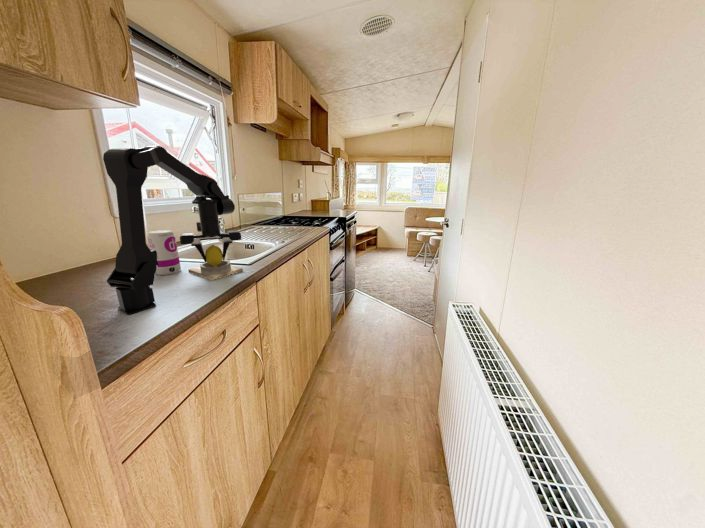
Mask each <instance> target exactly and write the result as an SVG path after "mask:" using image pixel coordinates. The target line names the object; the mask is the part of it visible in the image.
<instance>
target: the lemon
mask: <svg viewBox="0 0 705 528" xmlns="http://www.w3.org/2000/svg"><path fill="white" fill-rule="evenodd" d="M204 253H205V257H206V260H207V262H208V263H209V264H211V265H213V266H215V267H216V266H217V265H218V264H220V263H221V262H222V260H223V250H222V249H221V247H219V246H217V245H214V244H212V245H210V246H208V247H207V248H206V250H205V252H204Z"/></svg>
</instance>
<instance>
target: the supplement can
mask: <svg viewBox="0 0 705 528" xmlns="http://www.w3.org/2000/svg"><path fill="white" fill-rule="evenodd" d="M146 241H147V243H148V244H147V246H148V248H149V249H150V250H156V252H157V262H158V264H159V265H158V266H157V265H156V266H157V268H156V273H155V274H156V275H158V276H168V275H173V274H177V273H178V272H179V271H181V269H182V268H181V262H180V256H179V250H178V244H177V239H176V234H175V233H174V231H173V230H172V229H158V230H157V229H156V230H151V231H148V234H147V236H146Z"/></svg>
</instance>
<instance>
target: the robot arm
mask: <svg viewBox="0 0 705 528" xmlns="http://www.w3.org/2000/svg"><path fill="white" fill-rule="evenodd" d="M102 160H103V164H104V167H105V170H106V173H107V175H108V177H109V178H110V179H111V181H112V183H113V184H114V186H115V190H116V200H117V210H118V218H119V227H120V228H119V229H120V240H121V246H120V247H119V249H118V251H117V253H116V255H115V267H114V269H113V270H112V272H111V273H110V275H109V276H108V278H107V280H106V283H107V284H108V285H109V286H110V288H115V292H116V296H117V301H118V305H119V306H117V309H118V310H119V311H121V312H122V313H124V314H125V315H127V316H128V315H132V314H135V313H139V312H142V311H144V310H148V309H151V308H153V307H157V304H156V303H155V302H156V301H155V295H154V290H153V288H152V287H151V286H153V285H154V282H155V274H156V268H157V266H158V265H159V264H158V262H157V252H156V250H150V249H149V245H148V244H147V236H146V229H145V228H146V227H145V219H144V218H145V217H144V208H143V207H144V206H143V195H142V194H143V192H142V187H143V185H144V184H145V181H146V179H147V178H148V168H149V167H153V166H158V167H159V168H161V169H162V170H163V171H165V172H167V173H168V174H170V175H172V176H173V177H175V178H176V179H178V180H180V181H181V182H182V183H184V184H185V185H186V186H187V189H188V190H189V191H190V192H191V193H193V195H195V196H196V197H195V198H194V199H193V200H192V201H191V204H194V205H197V209H198V216H199V221H200V222H196V230H197V232H198V233H201V234H194V232H188V233H187V232H185V233H184V232H183V233H181V234H180V236H179V243H180V245H191V247H195V248H196V250H197V251H198V253H199V254H200V255H201V258H202V259H203V260H204V262H206V257H205V253H206V252H205V250H204V247H203V243H202V242H203V241H210V240H222V254H223V259H222V260H225V259H226V256H227V255H226V254H227V251H228V249H229V246H230V244H233V242H234V241H242V234H241V232H240V231H239V230H238V229H236V230H234V229H233V230H227V232H223V233H222V232H221V229H220V220H219V219H220V218H219V216H224V215H229V214H233V213H234V211H235V210H236V207H235V203H234V202H233V200H232V199H231V198H230V196H229V195H228V194H224V192H223V190H222V189H221V188H220V186H219V185H218V181H216V180H215V179H214V178H212V177H210V176H208V175H204V174H202V173H199V172H196V171H195V170H194V169H193V168H191V167H189V166H188V165H187V164H186V163H184V162H182V160H179V159H178V158H177V157H175V156H174V155H172V154H171V153H170V152H168V151H167V149H166V148H165V147H163V146H161V145H145V146H144V147H140V148H127V147H126V148H110V149H108V150H106V151H105V152H104V153H103V158H102ZM156 265H157V266H156Z"/></svg>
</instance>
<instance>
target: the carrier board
mask: <svg viewBox="0 0 705 528" xmlns="http://www.w3.org/2000/svg"><path fill="white" fill-rule="evenodd" d="M241 271H244V269H243V267H240V266H237V265H233V264H231V262H230V261H229V260H223V259H222V262H221V263H220V264H218V265H217V266H216V267H215V266H213V265H211V264H209V263H208V262H207V260H206V262H205V261H204V262H203V263H200V266H195V267H192V268H188V273H189V274H192V273H193V274H192V275H195V276H198V277H201V276H202V277H201V278H205V279H207V278H208V279H207V280H210V279H211V280H210V281H215V280H214V279H216V280H218V279H217V278H219V279H221V278H220V277H222V278H225V277H224V276H226V277H228V276H227V275H229V276H231V275H230V274H232V275H235V274H234V273H236V274H239V273H242V272H241ZM238 272H239V273H238Z"/></svg>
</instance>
